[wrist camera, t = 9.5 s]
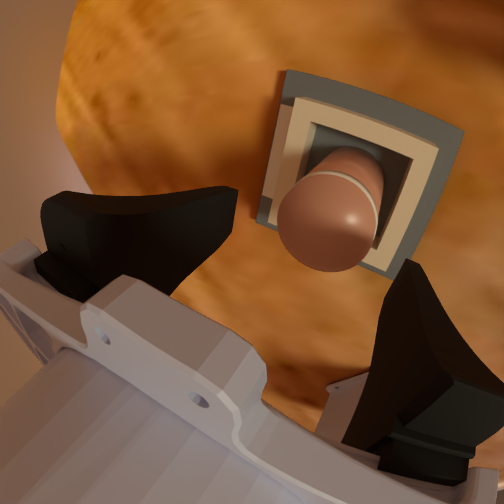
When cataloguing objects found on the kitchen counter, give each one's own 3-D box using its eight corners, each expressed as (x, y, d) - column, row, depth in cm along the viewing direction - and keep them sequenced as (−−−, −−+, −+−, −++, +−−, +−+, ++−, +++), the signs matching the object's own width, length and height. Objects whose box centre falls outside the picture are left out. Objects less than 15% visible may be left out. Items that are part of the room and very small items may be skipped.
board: (398, 276, 22) (396, 297, 20) (259, 218, 25) (243, 232, 23) (462, 130, 15) (471, 135, 13) (291, 69, 18) (275, 67, 16)
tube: (349, 222, 21) (321, 288, 15) (306, 174, 20) (257, 219, 14) (398, 184, 18) (396, 240, 12) (352, 131, 18) (324, 156, 11)
